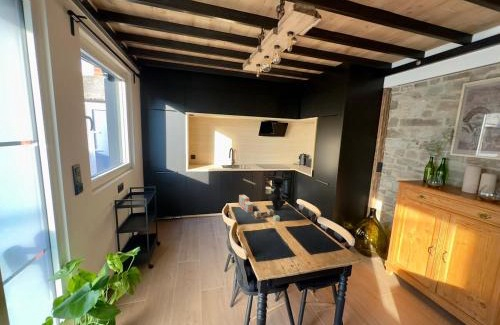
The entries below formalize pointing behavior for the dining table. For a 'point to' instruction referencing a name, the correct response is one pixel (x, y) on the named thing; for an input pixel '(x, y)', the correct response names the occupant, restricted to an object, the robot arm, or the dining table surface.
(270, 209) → the maple block
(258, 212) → the maple block
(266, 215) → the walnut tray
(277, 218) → the sage block
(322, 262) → the dining table surface
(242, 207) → the stack of blocks
